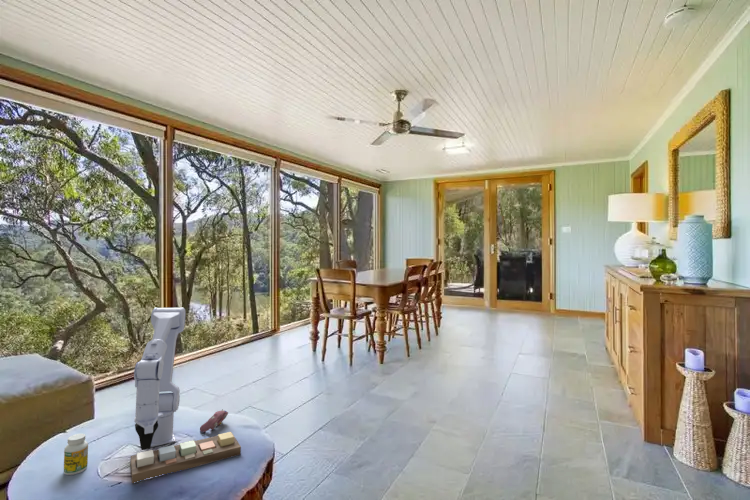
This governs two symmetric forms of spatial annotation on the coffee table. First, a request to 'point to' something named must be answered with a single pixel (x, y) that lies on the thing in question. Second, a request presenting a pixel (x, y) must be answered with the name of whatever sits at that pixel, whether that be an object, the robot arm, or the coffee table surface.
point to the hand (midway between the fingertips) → (145, 448)
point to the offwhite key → (145, 458)
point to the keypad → (184, 459)
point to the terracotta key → (206, 446)
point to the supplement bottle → (75, 454)
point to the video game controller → (214, 421)
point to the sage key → (187, 448)
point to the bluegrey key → (166, 453)
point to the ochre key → (225, 439)
